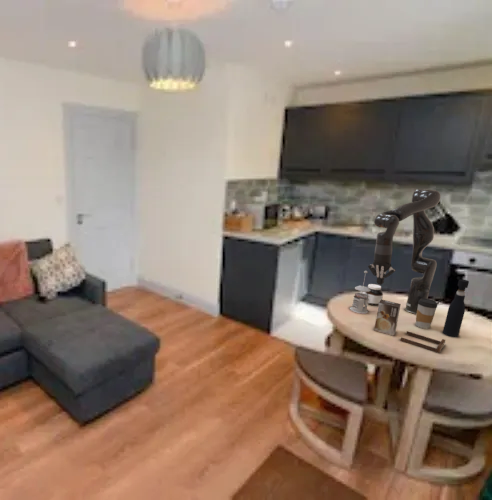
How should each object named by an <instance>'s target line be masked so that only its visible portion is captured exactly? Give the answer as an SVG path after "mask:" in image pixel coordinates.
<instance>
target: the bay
mask: <svg viewBox="0 0 492 500" xmlns="http://www.w3.org/2000/svg"><path fill="white" fill-rule="evenodd" d="M405 335H407V336H410V337H413V338H416V339H420V340H422V341H427V342H429V343H433V344H436V345H437V346H436V347H434V346H430V345H427V344H424V343H421V342H418V341H414V340H411V339H408V338H405V337H402V336H401V337H400V341H401V342H403V343H407V344H408V345H409V344H410V345H413V346H416V347H418V348H423V349H425V350H428V351H430V352H431V351H432V352H434V353H437V354H440V353H441V351H442V349H443V348H444V346H445V344H446V339H444V338H442V339H441V340H437V339H434V338H431V337H428V336H424V335H421V334H418V333H414V332H411V331H409V330H406V332H405Z"/></svg>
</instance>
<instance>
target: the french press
mask: <svg viewBox="0 0 492 500" xmlns="http://www.w3.org/2000/svg"><path fill="white" fill-rule="evenodd" d="M363 273H364V276H366V274H368V273H369V272H368V271H367V270H364V271H363ZM365 280H366V277H364V278H363V281H365ZM364 285H365V282H363V283H362V285H357V286H355V287H354V289H355V290H356V291H358V292H355V293H354V295H353V298H352V299H353V300H352V304H351V305H352V306H350V307H349V310H350V312H351V311H352V312H354V313H355V314H356V313H357V314H363V315H365V314H368V313H369V311H368V305H369V304H368V300H369V298H370V296H368V295H369V294H367V295H366V294H362V293H360V292H361V291H362V292H369V291H371V290H370V289H369V288H368V286H364ZM368 297H369V298H368ZM360 299H364V300H366V299H367V300H366V301H364V300H360ZM369 303H370V301H369ZM369 306H370V305H369Z"/></svg>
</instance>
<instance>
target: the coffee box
mask: <svg viewBox="0 0 492 500" xmlns="http://www.w3.org/2000/svg"><path fill="white" fill-rule="evenodd" d="M401 306H402V305H401V303H399V302H394V301H391V300H386V299H383V298H382V299H381V300H380V302H379V305H377V311H376V317H375V321H374V328H373V330H374V331H375V332H379V333H383V334H386V335H389V336H392V337H393V336H395V334H396V331H397V326H398V321H399V316H400V310H401Z"/></svg>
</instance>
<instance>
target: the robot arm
mask: <svg viewBox="0 0 492 500" xmlns="http://www.w3.org/2000/svg"><path fill="white" fill-rule="evenodd" d="M441 197H442V195H441V193H440V192H439V191H438V190H434V189H428V188H416V189H415V190H414V191H413V193H412V196H411V202H407V203H403V204H400V205H398V206H397V207H395V208H393V209H390V210H386V211H383V212H380V213H378V214H377V215H376V216H375V217H374V220H373V223H374V225H375V226H376V227H377V228H382V229H385V231H379V232H378V233H377V235H376V241H375V247H374V255H373V261H372V264H369V265H368V266H367V268H368V269H369V270H370V272H371V274H372V275H373V277H374V276H375V277H376V283H377V285H379V286H381V285H383V284H384V282H385V279H387V278H389V277H390V276H391V275H393V274H394V273H395V272H396V268H393V267H392V256H393V242H394V241H393V240H394V236H395V234H396V231H397V229H398V227H399V224H400V222H402V221H404V220H405V219H408V218H409V217H411V216H412V218H413V221H412V222H413V223H412V253H411V262H410V267H411V270H412V271H413V272H414V273H418V274H421V275H422V276H419V277H418V276H417V277H412V278H411V280H410V285H409V289H408V294H407V299H406V303H405V307H404V310H405V311H406V312H407V313H410V314H414V315H417V309H418V301H419V300H420V299H421V298H425V299H429V295H430V289H431V285H432V282H433V281H434V276H435V273H436V269H437V265H438V264H437V260H435V259H432V258H427V257H423V251H424V250H425V249H426V247H428V246H429V245H430V244H431V243H432V242H433V241H434V238H435V237H434V236H435V227H434V225H433V223H432V221H431V219H429V217H428V215H427V213H426V211H427V210H428V209H432V208H434V207H436V206H437V205H438V204H439V203H440V201H441ZM387 271H388V272H387ZM436 302H437V305H438V304H439V303H442V300H441V299H439V300H438V301H436Z"/></svg>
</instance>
